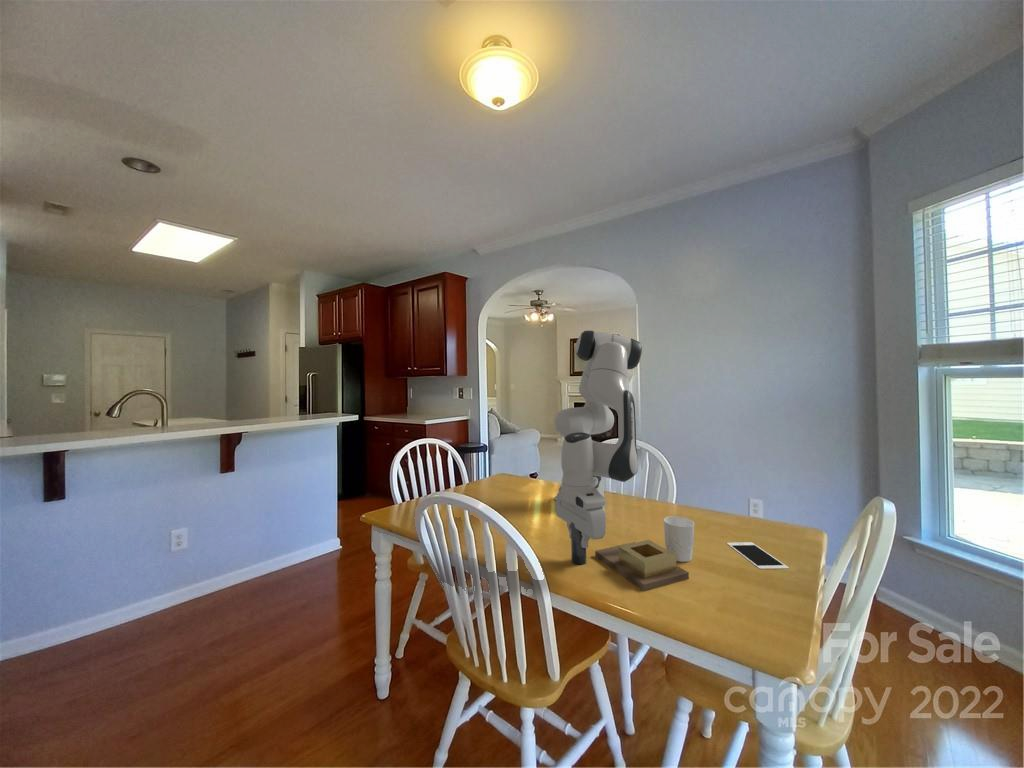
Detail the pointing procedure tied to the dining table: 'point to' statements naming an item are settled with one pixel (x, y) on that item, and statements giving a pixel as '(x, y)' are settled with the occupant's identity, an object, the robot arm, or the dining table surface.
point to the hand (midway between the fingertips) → (578, 543)
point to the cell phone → (757, 556)
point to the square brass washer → (647, 559)
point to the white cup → (679, 537)
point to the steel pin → (577, 547)
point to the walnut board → (612, 559)
